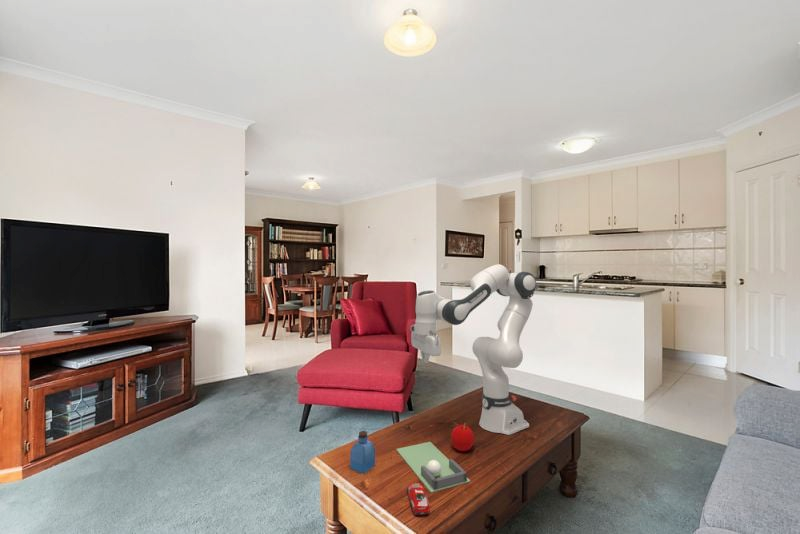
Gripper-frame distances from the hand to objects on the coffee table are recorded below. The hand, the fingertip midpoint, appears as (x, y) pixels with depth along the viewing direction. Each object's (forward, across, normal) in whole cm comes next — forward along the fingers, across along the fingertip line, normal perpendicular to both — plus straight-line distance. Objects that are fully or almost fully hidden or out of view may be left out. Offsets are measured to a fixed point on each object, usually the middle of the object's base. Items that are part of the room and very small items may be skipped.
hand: (425, 362), depth 148 cm
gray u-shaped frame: (+31, -29, +8) cm, 43 cm away
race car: (+32, -36, +21) cm, 52 cm away
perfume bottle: (+31, -12, +31) cm, 46 cm away
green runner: (+31, -20, +8) cm, 38 cm away
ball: (+28, -27, +10) cm, 40 cm away
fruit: (+31, -15, -9) cm, 36 cm away
